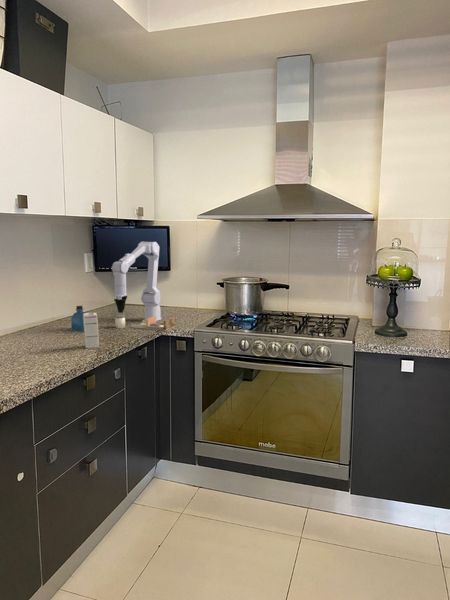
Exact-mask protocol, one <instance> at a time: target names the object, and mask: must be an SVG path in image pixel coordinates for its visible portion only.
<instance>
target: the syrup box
mask: <svg viewBox="0 0 450 600" xmlns="http://www.w3.org/2000/svg"><path fill="white" fill-rule="evenodd" d="M83 321H84V331H83V335H84V336H83V337H84V347H85V349H94V348H100V343H99V341H100V340H99V338H100V337H99V324H98V314H97V312H86V313H83Z"/></svg>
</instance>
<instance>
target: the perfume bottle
mask: <svg viewBox="0 0 450 600" xmlns="http://www.w3.org/2000/svg"><path fill="white" fill-rule="evenodd" d="M75 307H76V308H75V311H76V312H73V314H72V316H71V319H70V322H71V331H75V330H77V331H78V332H79V331H80V332H84V321H83V313H87V312H86V311H84V307H83V305H76V306H75Z"/></svg>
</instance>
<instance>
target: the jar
mask: <svg viewBox="0 0 450 600" xmlns="http://www.w3.org/2000/svg"><path fill="white" fill-rule="evenodd" d="M114 322H115V328H116V329H124V328H126V315H125V314H118V315H115V316H114Z"/></svg>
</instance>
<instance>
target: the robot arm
mask: <svg viewBox="0 0 450 600" xmlns="http://www.w3.org/2000/svg"><path fill="white" fill-rule="evenodd" d="M141 255H143V256H145V257H146V258H147V259H148V266H147V278H146V279H147V280H146V287H145V288H144V289H143V290H142V294H141V297H140V299H141V302H142V304H143V305H144V319H141V322H142V321H146V319H148V318H151V317H154V316H156V321H157V322H159V321H161V320H162V319H163V317H161V316H162V315H161V310H162V309H161V306H160V303H161V302H162V301H161V299H162V297H161V291H160V289H158V288H157V285H158V284H157V283H158V282H157V281H158V268H159V258H160V245H159V244H158V243H157V241H140V242H139V243H138V244H137V247H135V249H134V250H132V252H131V253H125V254H124V256H123V257H121V258H119V260H118V261H114V262H113V263H112V264H111V265H112V266H111V267H110V268H111V271H112V272H113V273H112V274H113V277H114V293H112V296H115V297H116V298H114V299H113V300H114V304H115V305H116V309H117V312H118V313H119V314H122V313H123V312H124V310H125V308H126V302H127V299H128V293H127V273H128V271H129V268H130V267H131V266H132V265H133V264H134V263H136V259H137V258H139V257H140V256H141Z"/></svg>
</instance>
